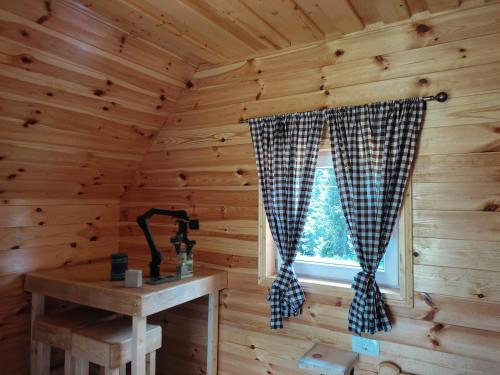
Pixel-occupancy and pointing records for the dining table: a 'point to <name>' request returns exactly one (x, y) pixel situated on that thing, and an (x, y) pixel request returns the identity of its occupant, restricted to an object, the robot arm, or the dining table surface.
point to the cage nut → (181, 269)
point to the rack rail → (163, 279)
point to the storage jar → (118, 266)
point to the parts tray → (185, 276)
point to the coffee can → (186, 259)
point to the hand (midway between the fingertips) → (182, 255)
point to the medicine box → (133, 278)
